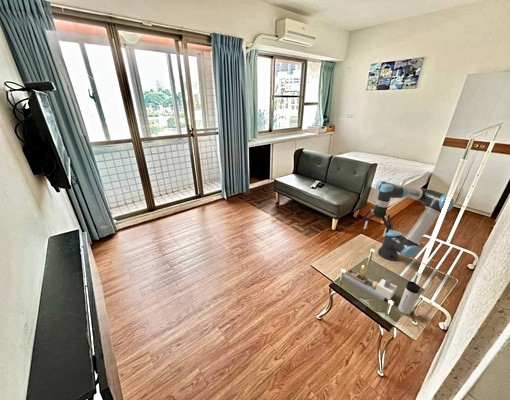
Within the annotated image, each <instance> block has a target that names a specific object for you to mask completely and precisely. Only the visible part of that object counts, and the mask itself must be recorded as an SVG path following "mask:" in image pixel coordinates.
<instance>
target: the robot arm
mask: <svg viewBox="0 0 510 400" xmlns="http://www.w3.org/2000/svg"><path fill="white" fill-rule="evenodd" d="M375 188H376V190H377V191H379V192H378V196H377V198H376V202H375V205H374V206H375V207H374V209H373V208H369V209H368V212H367V213H366V214H365V215H364V216H363V217H362V220H363V225H364V226H363V229H364V230H366V229H367V228H368V224H369V220H370V219H372V218H374V217H375V218H378V219H381V221H382V222H383V224H384V226H385V228H384V231H383V235H382V237H383V240H382V241H383V242H382V244H381V246H380V247H379V248H378V250H377V255H378V256H380V257H381V258H383V259H384V260H387V261H396V260H398V258H399V257H398V256H399V254H400V255H401V256H403V257H406V258H414V257H416V256H417V255H418V254H419V253H420V250H421V249H420V241H421V240H422V239H423V237H424V236H425V234H426V233H427V232H428V230H429V229H430V227H431V226H432V225H433V223H434V222H435V221H436V219H437V218H438V217H439V216H440V213H441V210H442V208H443V206H444V203H445V200H446V197H447V195H448V194H446V193H442V192H440V191H436V190H434V189H430V188H429V189H428V188H421V187H409V186H405V185H400V184H396V183H391V182H387V181H385V180H379V181H378V182H376V184H375ZM406 197H407V198H411V199H413V200H415V201H418V202H420V203H422V204H424V208H425V210H424V211H423V212H422V214H421V215H420V217H419V218H418V219H417V221H416V222H415V223H414V225H413V226H412V228H411V229H410V230H409V232H408V233H407V234H406V235H404V234H403V233H402V232H401V231H397V230H392V229H394V227H393V223H392V222H393V221H392V219H391V217H392V215H391V214H387V211H388V209H389V208H388V207H389V204H390V201H391V199H405V198H406ZM454 205H455V201H454V198H453V197H452V199H451V201H450V204H449V207H448V209H447V212H446V213H448V212H450V211H451V210H452V209H453V208H454ZM371 213H373V214H371ZM370 214H371V215H370ZM369 215H370V216H369Z"/></svg>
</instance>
